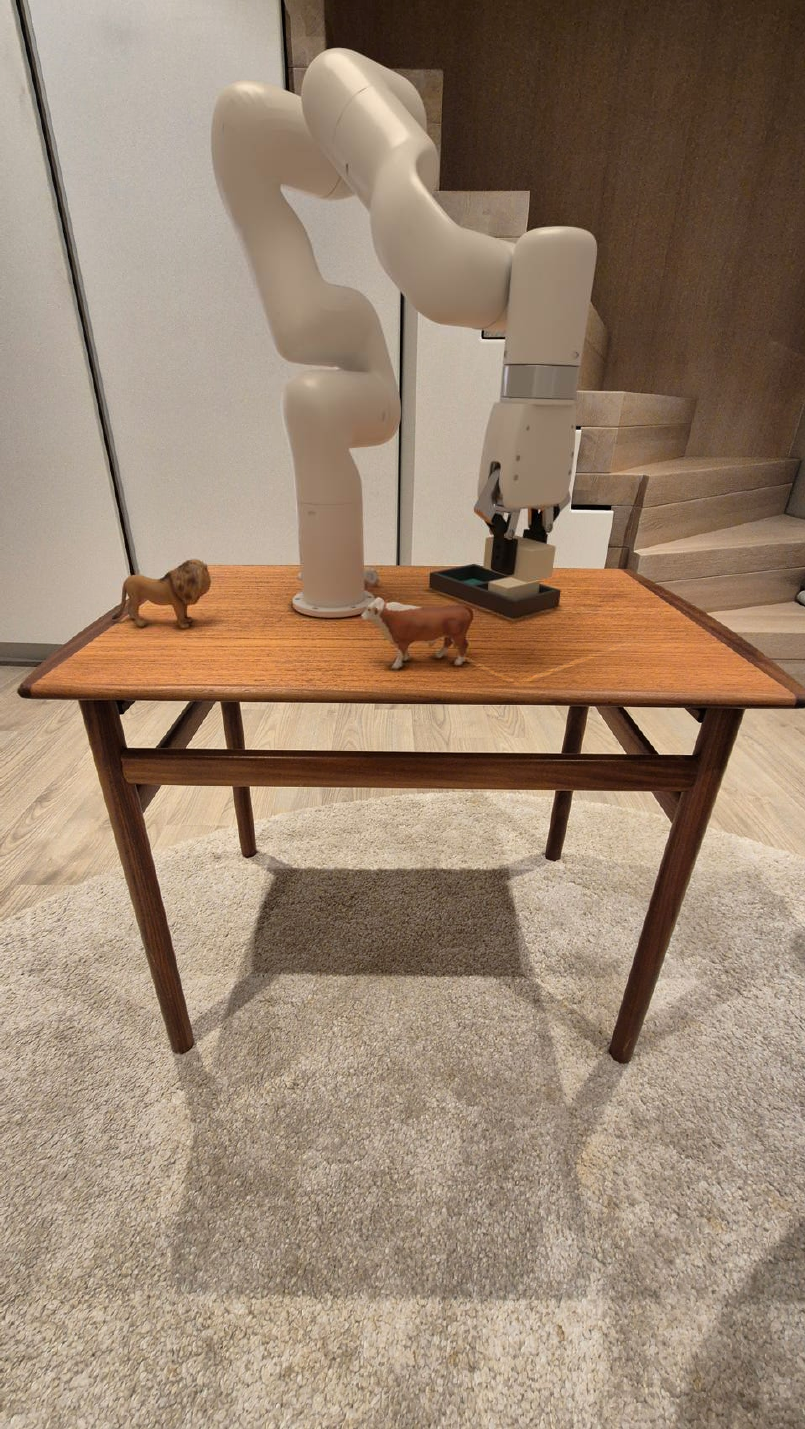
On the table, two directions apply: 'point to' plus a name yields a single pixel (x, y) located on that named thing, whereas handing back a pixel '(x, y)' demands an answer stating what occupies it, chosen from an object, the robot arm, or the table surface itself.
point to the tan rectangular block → (527, 559)
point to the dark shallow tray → (474, 589)
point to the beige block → (514, 588)
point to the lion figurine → (167, 591)
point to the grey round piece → (371, 578)
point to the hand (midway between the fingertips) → (516, 568)
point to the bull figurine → (421, 626)
